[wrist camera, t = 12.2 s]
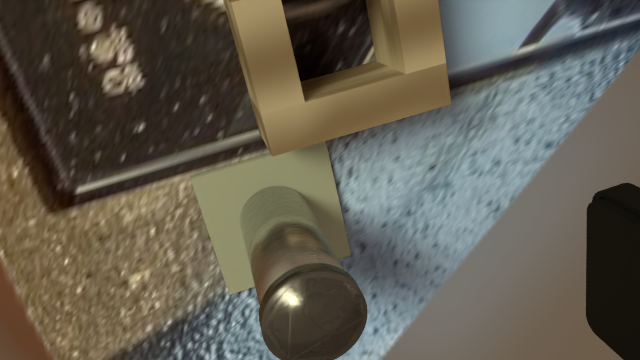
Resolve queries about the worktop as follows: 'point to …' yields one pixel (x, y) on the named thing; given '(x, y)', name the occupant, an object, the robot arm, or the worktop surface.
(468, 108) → the worktop surface
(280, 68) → the tan square frame
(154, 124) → the worktop surface
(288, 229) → the grey cylindrical piece
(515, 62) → the worktop surface
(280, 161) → the mat
